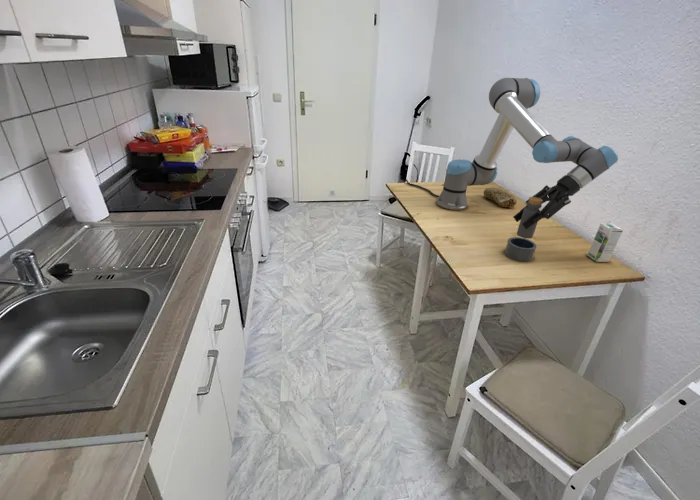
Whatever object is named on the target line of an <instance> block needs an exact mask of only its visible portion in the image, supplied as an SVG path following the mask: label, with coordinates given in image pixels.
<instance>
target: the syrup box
mask: <svg viewBox="0 0 700 500" xmlns="http://www.w3.org/2000/svg"><path fill="white" fill-rule="evenodd" d="M623 232H624V229H623V228H621V227H620V226H618V225H615V224H614V223H611V222H601V223H600V224H599V226H598V229H597V231H596V233H595V236H594V238H593V241H592V243H591V245H590V247H589V250H588V251H587V254H586V256H587V257H589V258H590V259H592V260H593V261H594V262H595V263H608V262H610V260H611V257H612V255H613V253H614V252H615V249H616V247H617V245H618V243H619V241H620V239H621V236H622V234H623Z"/></svg>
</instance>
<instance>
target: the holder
mask: <svg viewBox="0 0 700 500" xmlns="http://www.w3.org/2000/svg"><path fill="white" fill-rule="evenodd" d="M536 249H537V244H536V243H535V242H534V241H532V240H531V239H529V238H522V237H520V236H517V237H516V236H514V237H513V236H511V237H509V238H508V239H507V241H506V245H505V248H504V254H505V256H506V257H507V258H510V259H511V260H514V261H517V262H525V263H527V262H530V261H532V260H533V258H534V255H535V253H536Z"/></svg>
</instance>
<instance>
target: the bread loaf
mask: <svg viewBox="0 0 700 500" xmlns="http://www.w3.org/2000/svg"><path fill="white" fill-rule="evenodd" d="M483 196H484V197H485V198H487V199H488V200H491V201H493V202H495V203H497V204H498V206H500V207H501V208H508V209H513V208H515V206H516V205H517V199H516V197H515V196H514V195H513V194H511V193H509V192H507V191H505V190H503V189H501V188H497V187H487V188H485V189H484V190H483Z"/></svg>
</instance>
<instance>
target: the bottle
mask: <svg viewBox="0 0 700 500" xmlns="http://www.w3.org/2000/svg"><path fill="white" fill-rule="evenodd" d="M528 199H529V202H527V204H526V203H525V206H526V205H527V206H528V207H526V208H524V207H523V208H524V211H523V214H522V217H521V220H519V224H518V227H517V231H516V235H517V237H519V238H525V239H532V238H533V237H534V235H535V232H536V228H537V225H538V222H537V223H534V224H533V225H531V226H530V227H529V228H527V229H525V227H524V226H523V225H522V223H524V222H525V221H526V220H528V219H529V218H530V217H531V216H533V215H534V214H535V213H538V211H541V209H542V206H543V205H542V204H541V203H542V201H543V200H542V199H540V198H537V197H532V196H529V197H528ZM538 214H539V213H538Z"/></svg>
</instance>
